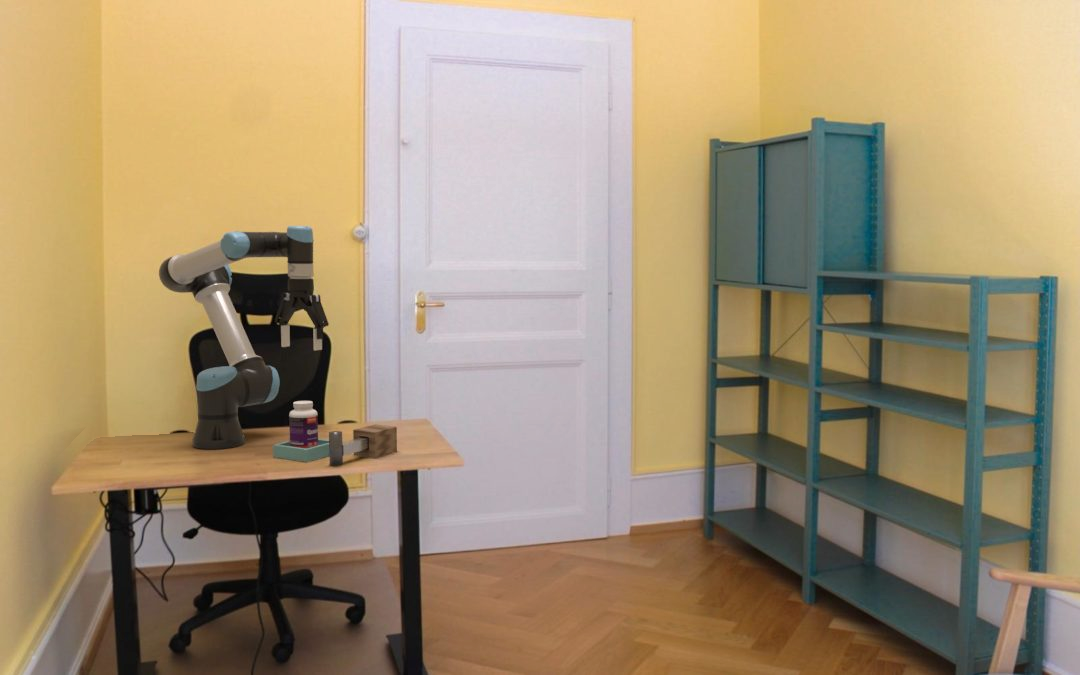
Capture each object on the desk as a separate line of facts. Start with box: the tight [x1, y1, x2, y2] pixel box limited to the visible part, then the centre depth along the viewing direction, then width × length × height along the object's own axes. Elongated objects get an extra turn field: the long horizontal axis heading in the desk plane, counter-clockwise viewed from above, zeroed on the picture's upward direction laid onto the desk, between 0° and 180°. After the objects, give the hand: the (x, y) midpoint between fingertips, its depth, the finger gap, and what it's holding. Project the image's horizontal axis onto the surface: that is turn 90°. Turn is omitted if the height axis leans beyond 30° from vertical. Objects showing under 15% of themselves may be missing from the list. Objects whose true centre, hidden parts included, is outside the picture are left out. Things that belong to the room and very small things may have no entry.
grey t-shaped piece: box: [328, 430, 369, 466], centre depth 272 cm, size 17×4×9 cm, turn 150°
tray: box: [272, 438, 329, 463], centre depth 279 cm, size 13×13×4 cm
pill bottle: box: [288, 400, 319, 449], centre depth 279 cm, size 8×8×14 cm
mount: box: [352, 423, 398, 459], centre depth 281 cm, size 10×8×8 cm
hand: (301, 348), depth 289 cm, fingers open, 13 cm apart
